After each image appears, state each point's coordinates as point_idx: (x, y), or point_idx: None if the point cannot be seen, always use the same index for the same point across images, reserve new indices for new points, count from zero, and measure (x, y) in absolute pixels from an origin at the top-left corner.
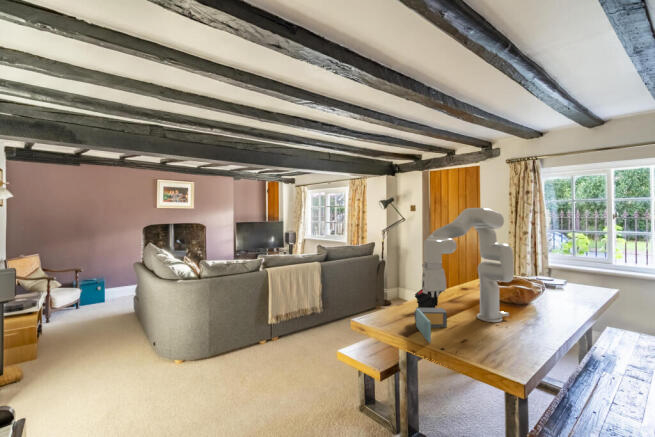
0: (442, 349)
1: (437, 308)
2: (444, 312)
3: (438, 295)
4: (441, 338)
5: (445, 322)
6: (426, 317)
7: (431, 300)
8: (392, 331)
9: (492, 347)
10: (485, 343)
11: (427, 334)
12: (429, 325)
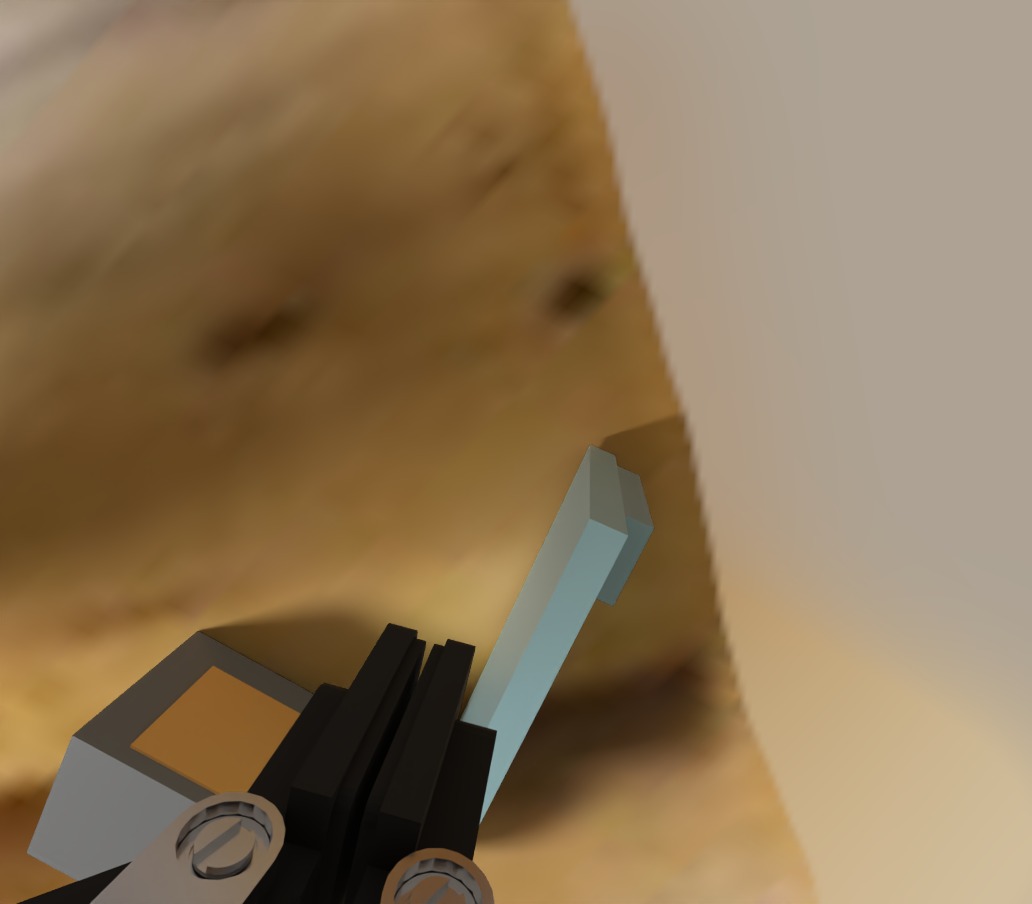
0: (586, 282)
1: (97, 872)
2: (99, 747)
3: (177, 842)
4: (413, 478)
5: (175, 666)
6: (519, 672)
7: (480, 806)
8: (735, 811)
9: (97, 92)
10: (98, 195)
11: (627, 482)
12: (608, 506)
